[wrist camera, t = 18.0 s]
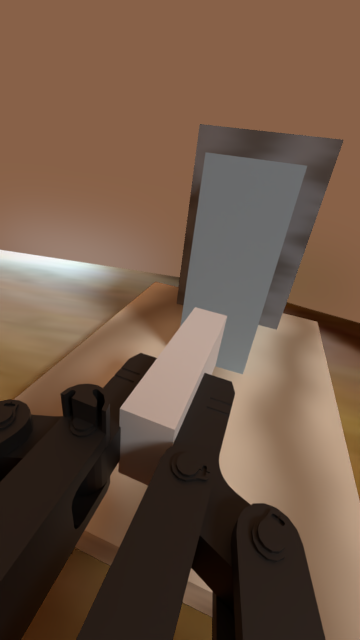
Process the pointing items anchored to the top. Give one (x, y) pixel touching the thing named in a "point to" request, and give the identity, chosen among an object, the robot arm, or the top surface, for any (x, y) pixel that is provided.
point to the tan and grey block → (246, 397)
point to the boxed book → (239, 244)
